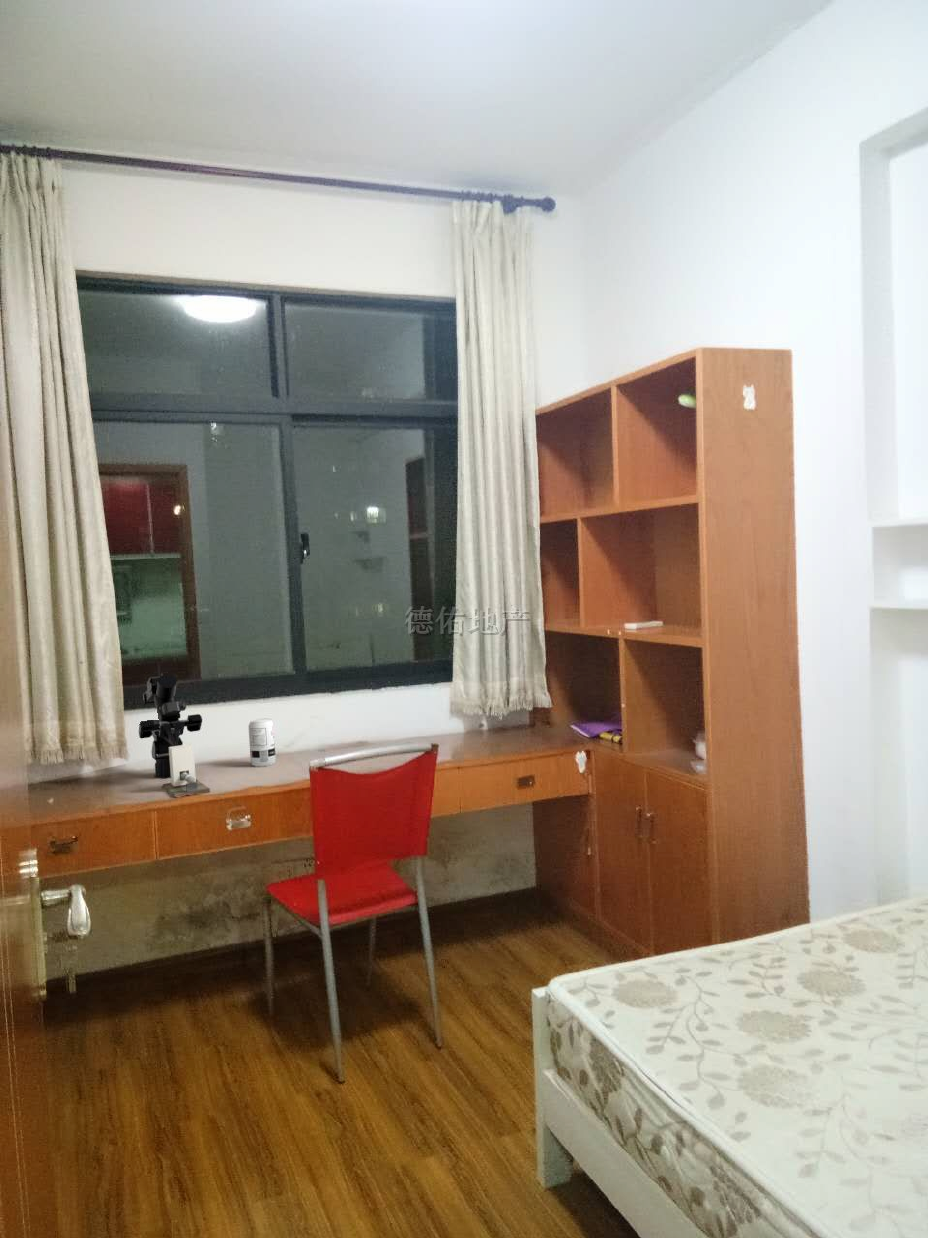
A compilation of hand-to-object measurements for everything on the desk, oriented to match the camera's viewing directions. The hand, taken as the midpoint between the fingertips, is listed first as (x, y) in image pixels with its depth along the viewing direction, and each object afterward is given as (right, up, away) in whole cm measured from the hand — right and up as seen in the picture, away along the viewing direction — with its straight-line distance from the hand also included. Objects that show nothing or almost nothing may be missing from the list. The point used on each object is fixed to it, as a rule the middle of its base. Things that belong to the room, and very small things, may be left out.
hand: (176, 747), depth 271 cm
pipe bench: (+5, -12, -7) cm, 15 cm away
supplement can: (+22, -9, +24) cm, 34 cm away
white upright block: (+4, -10, -5) cm, 12 cm away
